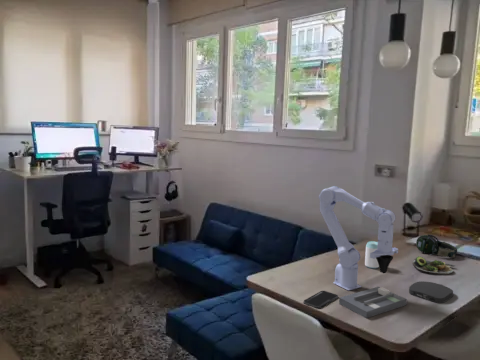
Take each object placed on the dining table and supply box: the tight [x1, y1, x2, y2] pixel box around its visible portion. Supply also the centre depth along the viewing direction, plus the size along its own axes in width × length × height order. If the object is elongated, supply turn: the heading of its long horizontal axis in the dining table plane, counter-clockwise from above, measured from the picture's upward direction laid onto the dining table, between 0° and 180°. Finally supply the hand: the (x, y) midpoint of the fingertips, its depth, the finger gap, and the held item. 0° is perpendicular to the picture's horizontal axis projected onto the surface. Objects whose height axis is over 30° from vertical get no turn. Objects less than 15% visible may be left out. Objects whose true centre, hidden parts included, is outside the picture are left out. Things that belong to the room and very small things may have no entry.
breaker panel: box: [338, 286, 407, 319], centre depth 167 cm, size 14×22×4 cm, turn 121°
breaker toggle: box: [378, 286, 391, 296], centre depth 170 cm, size 4×2×2 cm, turn 31°
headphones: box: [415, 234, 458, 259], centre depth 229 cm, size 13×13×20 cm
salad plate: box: [412, 255, 456, 275], centre depth 207 cm, size 19×18×5 cm
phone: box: [302, 290, 339, 310], centre depth 171 cm, size 8×1×15 cm
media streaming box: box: [408, 280, 454, 304], centre depth 178 cm, size 15×15×3 cm
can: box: [364, 240, 379, 269], centre depth 209 cm, size 7×7×12 cm
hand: (383, 272), depth 176 cm, fingers closed
